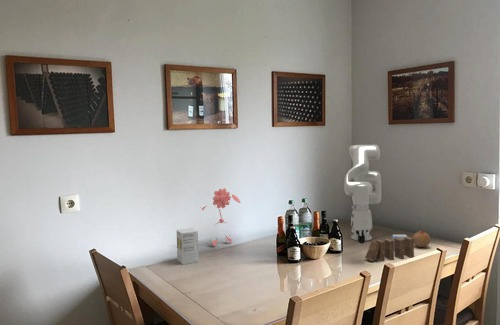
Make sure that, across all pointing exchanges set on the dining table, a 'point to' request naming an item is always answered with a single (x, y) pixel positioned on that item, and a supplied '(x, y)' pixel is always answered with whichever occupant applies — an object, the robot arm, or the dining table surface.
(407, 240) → the domino
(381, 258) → the domino
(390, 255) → the domino
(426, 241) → the onion
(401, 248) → the domino
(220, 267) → the dining table surface
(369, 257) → the domino
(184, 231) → the supplement box
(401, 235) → the medicine box
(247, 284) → the dining table surface
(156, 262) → the dining table surface
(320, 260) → the dining table surface
